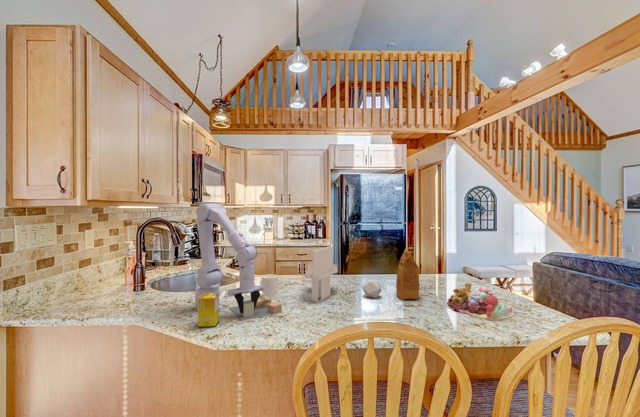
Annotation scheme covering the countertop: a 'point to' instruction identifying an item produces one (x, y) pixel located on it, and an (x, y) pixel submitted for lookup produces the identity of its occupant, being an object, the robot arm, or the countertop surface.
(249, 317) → the mat
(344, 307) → the countertop surface
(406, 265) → the coffee package
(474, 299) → the dessert platter
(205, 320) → the supplement box
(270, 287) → the white cup
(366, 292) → the die
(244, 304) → the sage block
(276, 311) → the block
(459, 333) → the countertop surface
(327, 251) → the upright slab stand
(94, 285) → the countertop surface
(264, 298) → the base block
